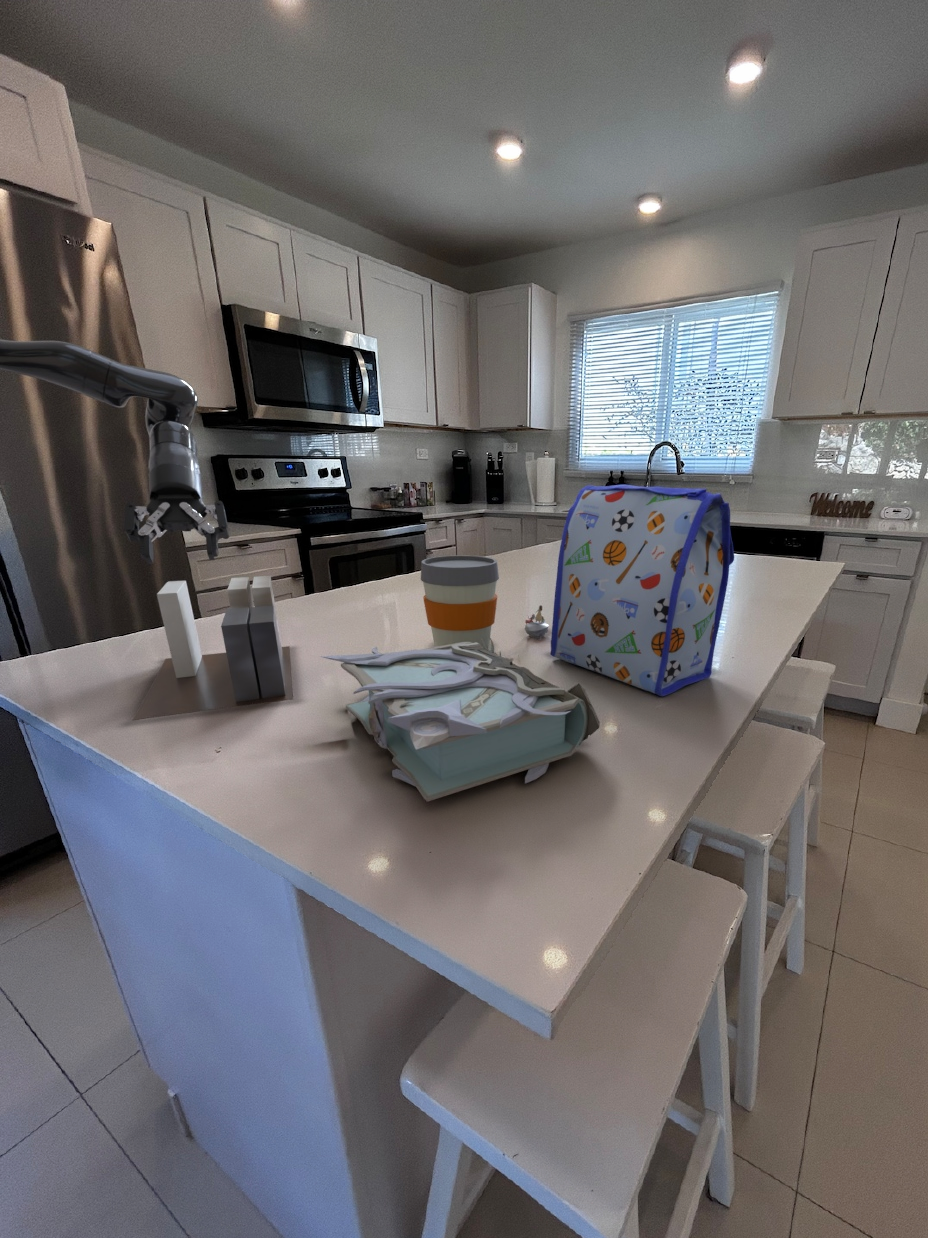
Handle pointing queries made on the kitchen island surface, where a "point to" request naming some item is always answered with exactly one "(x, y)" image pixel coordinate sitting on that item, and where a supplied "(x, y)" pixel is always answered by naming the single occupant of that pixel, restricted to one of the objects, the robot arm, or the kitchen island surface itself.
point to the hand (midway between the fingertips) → (180, 558)
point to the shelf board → (200, 688)
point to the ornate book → (465, 715)
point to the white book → (180, 628)
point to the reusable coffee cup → (460, 598)
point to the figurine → (536, 625)
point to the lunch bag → (642, 584)
